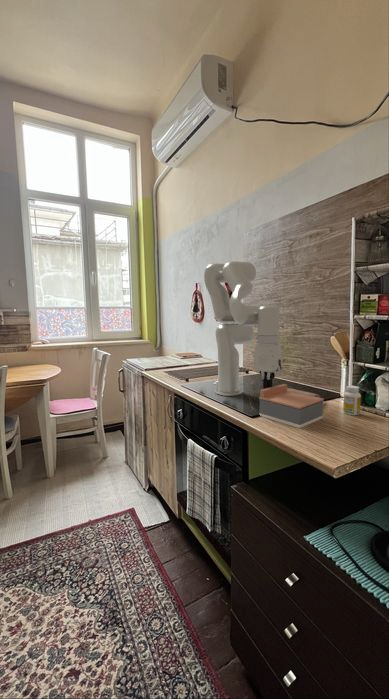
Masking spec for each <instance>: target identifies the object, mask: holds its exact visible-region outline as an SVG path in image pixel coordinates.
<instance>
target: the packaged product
mask: <svg viewBox="0 0 389 699" xmlns="http://www.w3.org/2000/svg"><path fill="white" fill-rule="evenodd" d="M287 391H290V392H295V393H300V394H304V395H309V396H314V397H318V398H321V395H320V394H317V393H312V392H309V391H304V390H298V389H294V388H291V387H287ZM326 403H327V401H324V400H323V406H324V405H326Z"/></svg>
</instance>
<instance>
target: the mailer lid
mask: <svg viewBox="0 0 389 699" xmlns="http://www.w3.org/2000/svg"><path fill="white" fill-rule="evenodd" d="M287 388H288V384H286V383H281V384H278V385H274V386H272V387H270V388H266V389H263V388H262V389H260V391H259V396H258V399H259V400H260V399H263V400H267V401H270V402H274V403H278V404H282V405H286V406H290V407H294V408H298V409H301V408H304V407H306V406H309V405H312V404H315V403H318V402H320V401H324V400H325V399H324V397H323V398H322V397H320V398H318V397H314V396H309V395H304V394H300V393H295V392H290V391H287Z"/></svg>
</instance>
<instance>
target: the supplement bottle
mask: <svg viewBox="0 0 389 699" xmlns="http://www.w3.org/2000/svg"><path fill="white" fill-rule="evenodd" d="M359 391H360V386H356V385H347V386H346V391H345V392H344V393H343V410H342V411H343V413H344V414H345V415H348V416H349V415H350V416H359V415H360V413H361V399H362V395H361V393H360V392H359Z"/></svg>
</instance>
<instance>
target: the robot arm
mask: <svg viewBox="0 0 389 699" xmlns="http://www.w3.org/2000/svg"><path fill="white" fill-rule="evenodd" d="M203 274H204V275H203V278H204V279H203V280H204V284H205V288H206V291H207V292H208V294H209V296H210V300H211V301H210V302H211V306H212V310H213V314H214V318H215V320H216V321H217V322H218V323H223V324H220V325H219V326H217V327H216V330H215V340H216V344H217V370H218V371H217V380H215V382H213V386H215V387H216V388H215V389H214V393H215V394H216V395H218V396H225V397H230V396H231V397H234V396H239V395H242V394H243V389H241V388H240V354H239V351H238V349H237V348H236V345H247V344H250V343H251V342H253V339H254V334H255V333H254V327H257V336H256V337H255V340H256V341H257V343H255V346H254V351H253V363H252V366H253V369H254V370H255V372H256V373H258V374H259V375H260V376H261V379H262V381H263V382H262V386H263V388H262V389H266V388H270V387H273V380H274V379H275V378H276V376H277V377H278V376H281V375H282V372H281V371H282V368H283V355H282V346H281V344H280V308H279V307H278V306H276V305H263V306H262V305H261V306H260V305H246V304H245V303H243V302H241V300H243V299H244V298H246V297H248V296H249V295H250V294H251V293H252V291H253V284H252V282H253V281H254V280H255V279H256V276H257V269H256V267H255V265H254V264H253V263H251V262H249V261H235V260H234V261H233V260H232V261H228V262H227V263H217V262H216V263H211V264H208V265H207V266H206V267H205V269H204V273H203ZM221 283H223V284H224V283H225V284H226V283H227V285H228V287H229V289H230V290H231V292H232V294H230V295H229V291H228V290H227V289H226V287H224V286H223V284H221Z"/></svg>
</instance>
